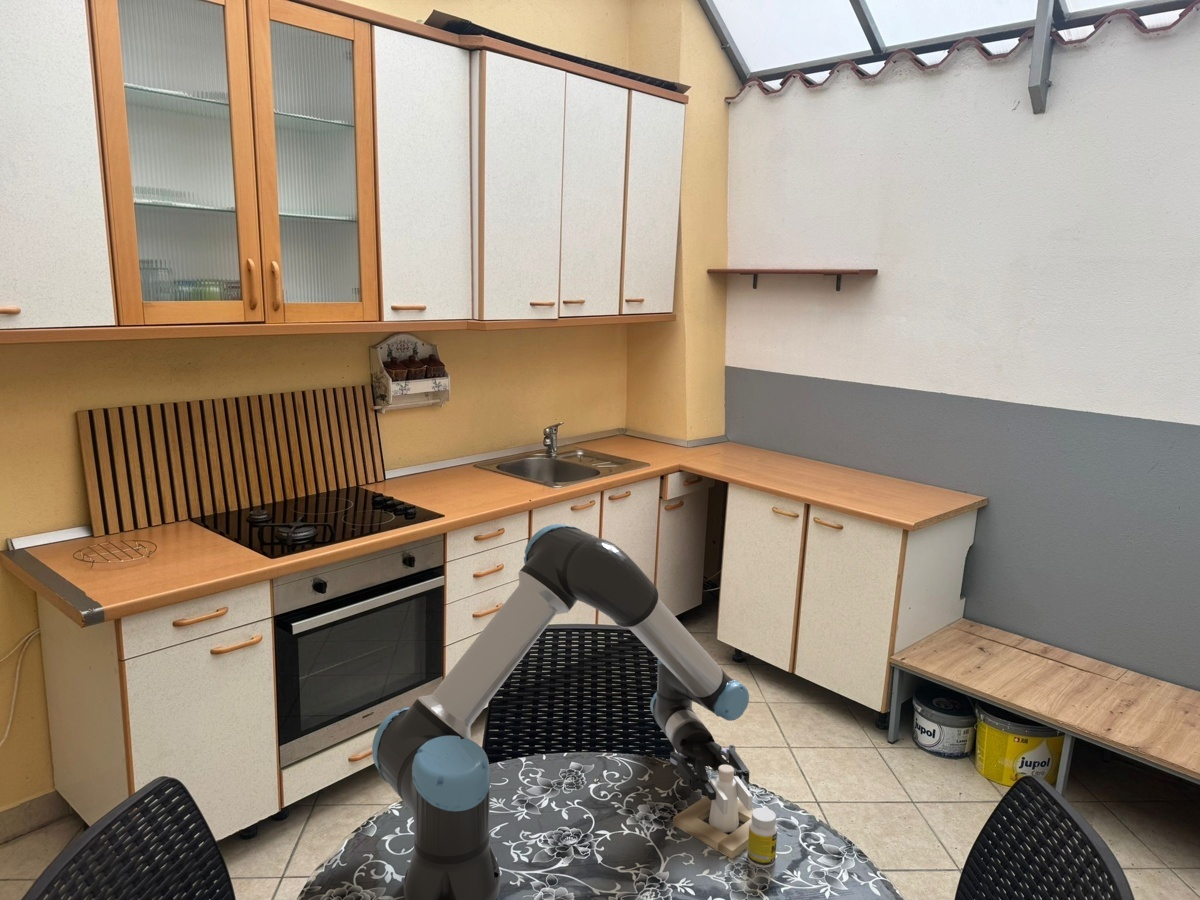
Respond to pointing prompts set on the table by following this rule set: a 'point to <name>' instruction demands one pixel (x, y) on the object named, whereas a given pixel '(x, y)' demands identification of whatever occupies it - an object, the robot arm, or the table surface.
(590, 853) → the table surface
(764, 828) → the supplement bottle
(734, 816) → the pepper shaker
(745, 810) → the hole block
